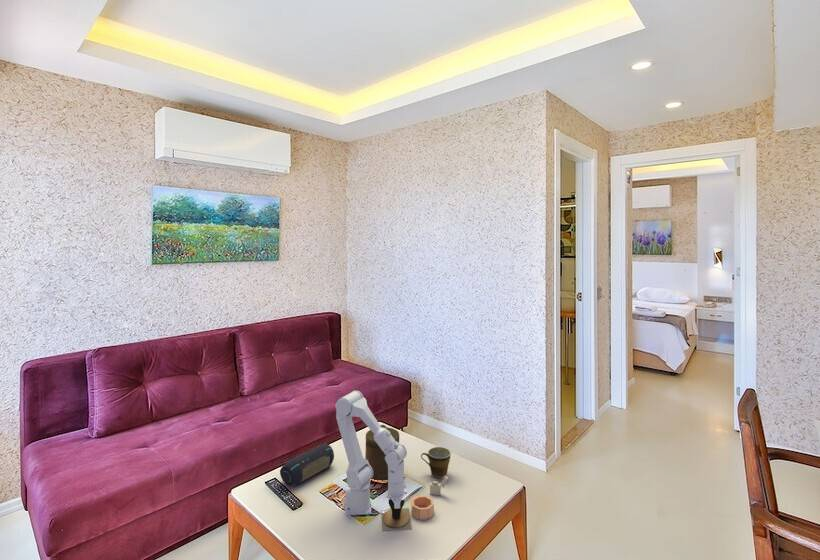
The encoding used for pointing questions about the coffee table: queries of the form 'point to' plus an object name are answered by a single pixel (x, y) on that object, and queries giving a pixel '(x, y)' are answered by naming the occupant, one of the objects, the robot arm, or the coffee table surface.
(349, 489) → the robot arm
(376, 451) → the wooden container
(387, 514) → the lid
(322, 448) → the portable speaker
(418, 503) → the bowl
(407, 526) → the mat
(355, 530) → the coffee table surface
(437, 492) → the lighter
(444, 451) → the ceramic cup
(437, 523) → the coffee table surface
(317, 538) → the coffee table surface
